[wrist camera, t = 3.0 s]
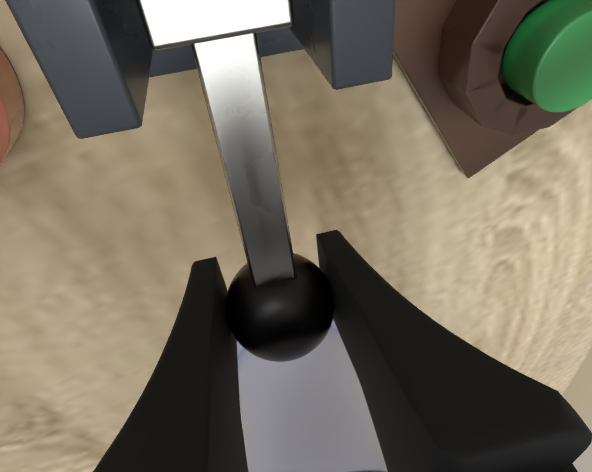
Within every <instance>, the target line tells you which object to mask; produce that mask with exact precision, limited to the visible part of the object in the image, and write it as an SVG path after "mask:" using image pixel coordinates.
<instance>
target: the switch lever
mask: <svg viewBox="0 0 592 472" xmlns="http://www.w3.org/2000/svg"><path fill="white" fill-rule="evenodd" d="M135 1H136V4H137V7H138V10H139V14H140V17H141V20H142V23H143V26H144V29H145V32H146V35H147V39H148V42H149V45H150V46H151V48H152V49H154V50H163V49H168V48H174V47H180V46H185V45H191V47H192V51H193V55H194V58H195V62H196V66H197V70H198V74H199V78H200V81H201V85H202V89H203V93H204V97H205V101H206V104H207V108H208V112H209V116H210V120H211V124H212V127H213V131H214V135H215V139H216V143H217V147H218V150H219V154H220V158H221V162H222V166H223V170H224V174H225V177H226V181H227V185H228V189H229V193H230V197H231V200H232V204H233V208H234V212H235V216H236V220H237V223H238V227H239V231H240V235H241V239H242V243H243V246H244V250H245V254H246V258H247V262H248V263H247V264H246V265H244V266H243V267H242V268H241V269H240V270H239V271H238V273H237V274H236V276H235V277H234V279H233V280H232V282H231V285H230V287H229V290H228V293H227V298H226V315H227V321H228V324H229V327H230V329H231V332H232V334H233V335H234V337H235V338H236V340H237V341H238V342H239V344H240V345H241V346H242V347H243V348H244V349H246V350H247V351H248V352H250V353H251V354H253V355H255V356H257V357H259V358H261V359H264V360H268V361H274V362H286V361H292V360H295V359H298V358H301V357H303V356H305V355H307V354H309V353H310V352H311V351H313V350H314V349H315V348H316V347H318V346H319V344H320V343H321V342H322V341H323V340H324V338H325V337H326V335H327V333H328V331H329V329H330V327H331V324H332V321H333V317H334V297H333V292H332V289H331V286H330V284H329V282H328V280H327V278H326V276H325V275H324V273H323V272H322V271H321V270H320V269H319V267H317V266H316V265H315V264H314V263H313V262H312V261H310V260H308V259H307V258H305V257H303V256H300V255H298V254H294V253H293V250H292V244H291V238H290V232H289V226H288V220H287V214H286V208H285V202H284V197H283V191H282V185H281V179H280V173H279V167H278V161H277V155H276V149H275V143H274V137H273V131H272V125H271V119H270V113H269V107H268V101H267V95H266V89H265V83H264V77H263V71H262V65H261V59H260V53H259V47H258V41H257V35H256V33H258V32H263V31H269V30H275V29H280V28H286V27H290V26H291V25H293V23H294V11H293V2H292V0H135Z"/></svg>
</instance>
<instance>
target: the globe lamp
mask: <svg viewBox="0 0 592 472" xmlns="http://www.w3.org/2000/svg"><path fill="white" fill-rule="evenodd" d="M23 118H24V103H23V96H22V92H21V88H20V85H19V82H18V80H17V77H16V74H15V72H14V70H13V68H12V66H11V65H10V63H9V61H8V59H7V58H6V56H5V55H4V53H3V52H2V50H1V49H0V165H1V164H2V162H3V161H4V159H5V158H6V156H7V154H8V153H9V151H10V150H11V148H12V146H13V145H14V143H15V142H16V140H17V138H18V136H19V134H20V132H21V128H22V124H23Z"/></svg>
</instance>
